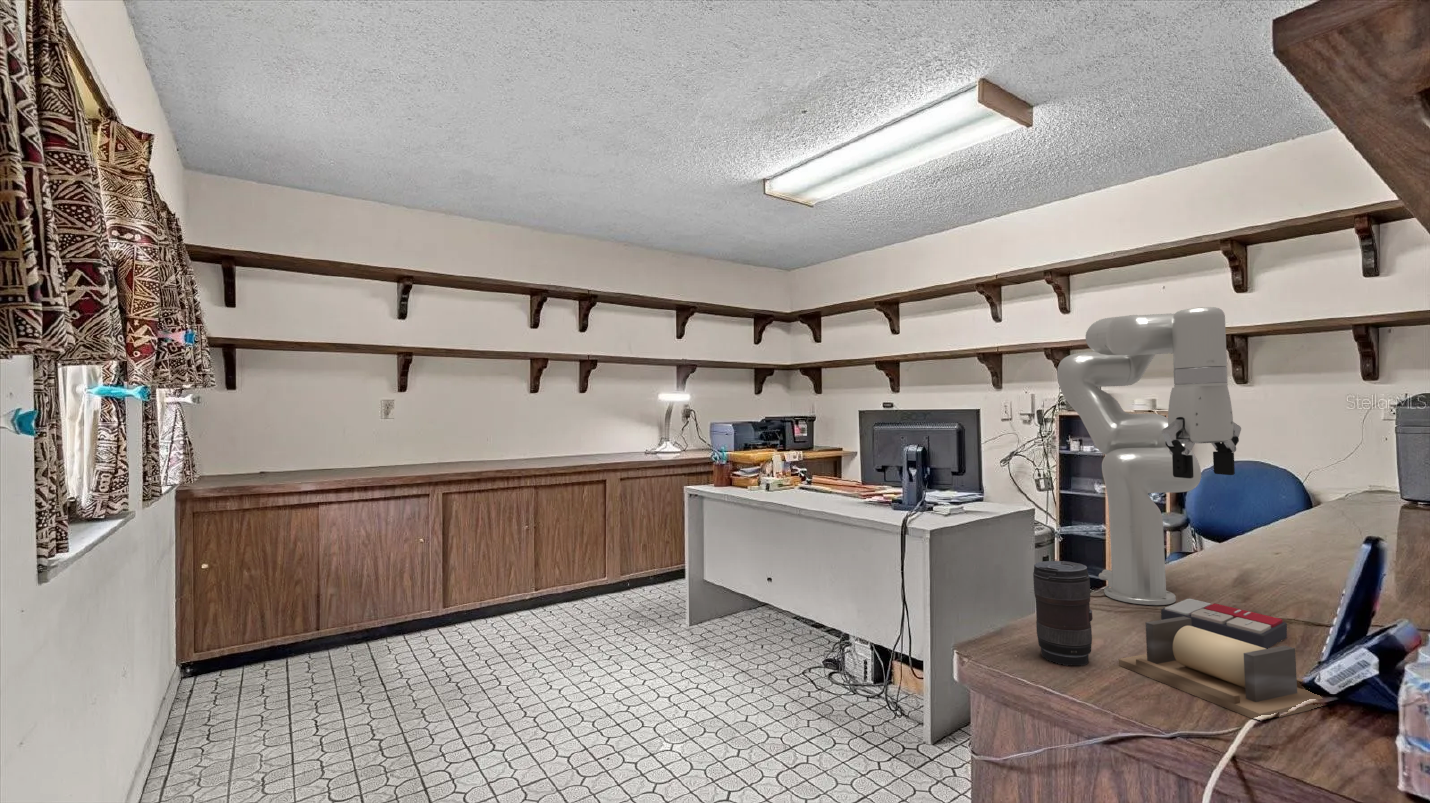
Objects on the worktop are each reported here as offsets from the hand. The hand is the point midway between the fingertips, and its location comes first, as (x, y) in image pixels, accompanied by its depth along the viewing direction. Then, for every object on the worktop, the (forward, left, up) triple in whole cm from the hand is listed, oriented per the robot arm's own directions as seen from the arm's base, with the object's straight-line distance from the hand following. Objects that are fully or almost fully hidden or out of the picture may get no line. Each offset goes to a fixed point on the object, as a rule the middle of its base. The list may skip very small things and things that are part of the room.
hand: (1203, 475), depth 112 cm
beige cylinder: (+15, -19, -24) cm, 34 cm away
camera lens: (-1, -31, -28) cm, 42 cm away
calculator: (-1, +4, -29) cm, 29 cm away
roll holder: (+14, -19, -28) cm, 36 cm away
